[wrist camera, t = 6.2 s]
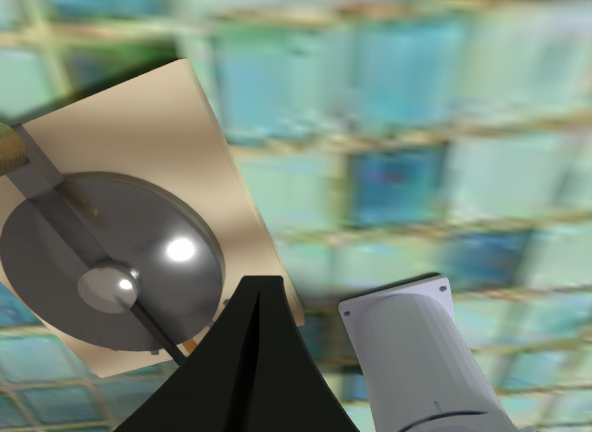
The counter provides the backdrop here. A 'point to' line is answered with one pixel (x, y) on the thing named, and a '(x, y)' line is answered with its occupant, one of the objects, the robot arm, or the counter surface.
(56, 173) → the metal pan with handle
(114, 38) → the counter surface
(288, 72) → the counter surface
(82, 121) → the stand
